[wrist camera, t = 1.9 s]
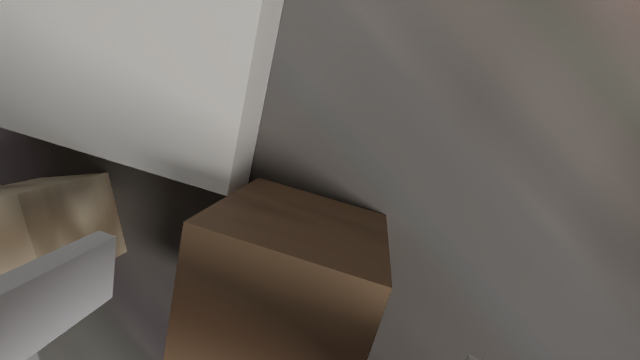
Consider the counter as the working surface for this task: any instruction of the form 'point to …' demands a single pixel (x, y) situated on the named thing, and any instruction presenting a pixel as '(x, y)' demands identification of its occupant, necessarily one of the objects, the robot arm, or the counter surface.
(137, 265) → the counter surface
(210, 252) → the walnut cube
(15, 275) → the robot arm
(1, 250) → the maple block
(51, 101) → the tile
